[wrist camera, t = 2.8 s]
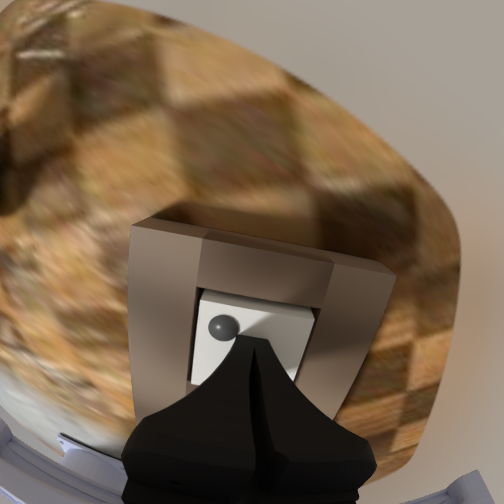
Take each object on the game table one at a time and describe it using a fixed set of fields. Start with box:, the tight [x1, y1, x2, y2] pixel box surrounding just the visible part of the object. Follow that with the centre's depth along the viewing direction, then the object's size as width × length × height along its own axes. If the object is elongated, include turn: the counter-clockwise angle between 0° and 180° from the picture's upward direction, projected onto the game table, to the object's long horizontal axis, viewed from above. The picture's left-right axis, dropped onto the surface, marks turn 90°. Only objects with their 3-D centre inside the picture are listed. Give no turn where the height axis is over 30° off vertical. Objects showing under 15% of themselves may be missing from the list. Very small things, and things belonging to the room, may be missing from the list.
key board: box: [128, 217, 397, 425], centre depth 15 cm, size 23×11×2 cm, turn 169°
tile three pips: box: [191, 288, 315, 385], centre depth 12 cm, size 4×4×3 cm
